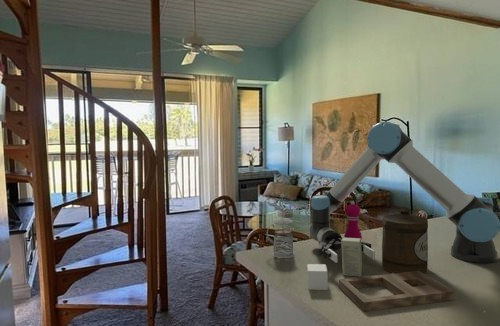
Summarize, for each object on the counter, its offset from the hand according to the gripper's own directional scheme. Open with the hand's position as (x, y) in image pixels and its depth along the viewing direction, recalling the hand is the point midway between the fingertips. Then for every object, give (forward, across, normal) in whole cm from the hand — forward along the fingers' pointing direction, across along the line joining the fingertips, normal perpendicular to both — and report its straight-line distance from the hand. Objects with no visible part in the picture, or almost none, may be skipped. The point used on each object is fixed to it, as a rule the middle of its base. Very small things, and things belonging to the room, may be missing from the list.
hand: (355, 256), depth 118 cm
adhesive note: (+3, +15, -7) cm, 17 cm away
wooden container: (-3, -20, -7) cm, 22 cm away
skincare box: (-3, 0, -7) cm, 8 cm away
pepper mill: (-30, -14, -7) cm, 34 cm away
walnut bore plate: (+14, -5, -7) cm, 17 cm away
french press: (-29, +18, -7) cm, 35 cm away
